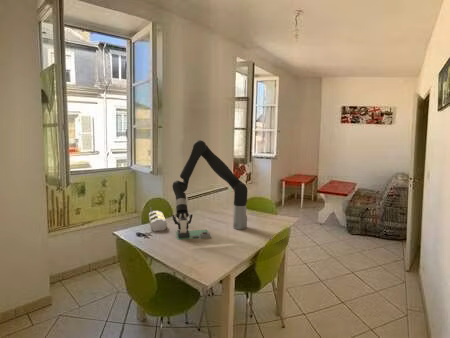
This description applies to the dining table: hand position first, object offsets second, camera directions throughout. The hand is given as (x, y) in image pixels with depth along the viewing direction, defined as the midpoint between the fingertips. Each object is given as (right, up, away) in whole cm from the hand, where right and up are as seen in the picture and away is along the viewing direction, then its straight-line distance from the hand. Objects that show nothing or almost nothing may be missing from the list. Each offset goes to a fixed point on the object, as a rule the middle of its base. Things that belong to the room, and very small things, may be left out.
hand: (183, 229), depth 204 cm
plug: (-1, -4, +3) cm, 5 cm away
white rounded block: (-23, -3, +29) cm, 37 cm away
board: (+5, -6, +6) cm, 10 cm away
